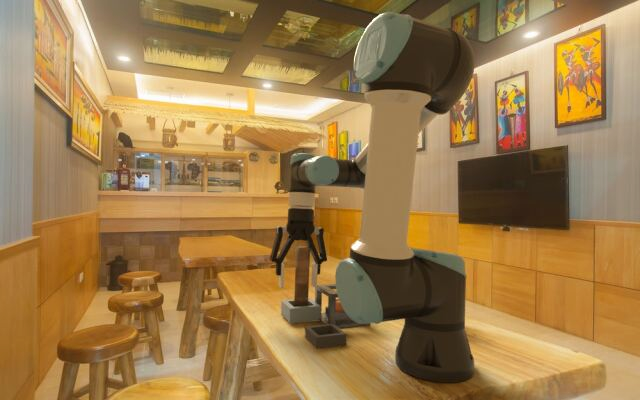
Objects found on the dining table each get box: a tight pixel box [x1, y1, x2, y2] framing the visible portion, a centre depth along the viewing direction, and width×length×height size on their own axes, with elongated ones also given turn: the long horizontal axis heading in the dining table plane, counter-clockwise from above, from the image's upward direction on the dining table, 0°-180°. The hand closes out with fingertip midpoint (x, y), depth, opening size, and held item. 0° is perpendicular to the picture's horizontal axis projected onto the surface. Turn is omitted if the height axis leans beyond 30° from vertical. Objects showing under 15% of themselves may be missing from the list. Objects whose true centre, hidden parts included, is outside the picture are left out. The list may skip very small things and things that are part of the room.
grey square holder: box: [280, 297, 322, 324], centre depth 101 cm, size 9×9×4 cm
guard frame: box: [314, 283, 371, 329], centre depth 100 cm, size 12×12×9 cm
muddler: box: [293, 245, 311, 307], centre depth 102 cm, size 4×4×20 cm
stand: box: [304, 324, 348, 349], centre depth 84 cm, size 8×8×2 cm
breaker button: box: [336, 298, 344, 312], centre depth 99 cm, size 4×4×4 cm
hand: (297, 286), depth 101 cm, fingers open, 9 cm apart
